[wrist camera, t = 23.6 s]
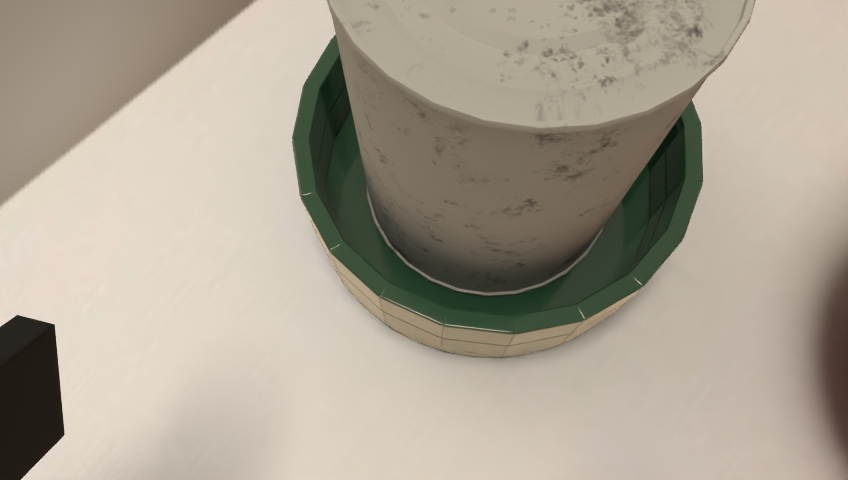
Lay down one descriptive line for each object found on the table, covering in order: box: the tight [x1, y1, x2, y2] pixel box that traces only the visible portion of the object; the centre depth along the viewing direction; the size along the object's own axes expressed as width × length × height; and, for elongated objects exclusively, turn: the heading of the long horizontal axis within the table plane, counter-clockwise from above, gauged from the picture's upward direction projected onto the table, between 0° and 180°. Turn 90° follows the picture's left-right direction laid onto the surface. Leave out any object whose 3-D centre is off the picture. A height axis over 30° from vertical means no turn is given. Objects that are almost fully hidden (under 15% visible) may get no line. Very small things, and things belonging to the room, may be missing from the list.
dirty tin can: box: [327, 0, 755, 297], centre depth 20 cm, size 10×10×12 cm
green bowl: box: [292, 35, 703, 358], centre depth 24 cm, size 14×14×4 cm
